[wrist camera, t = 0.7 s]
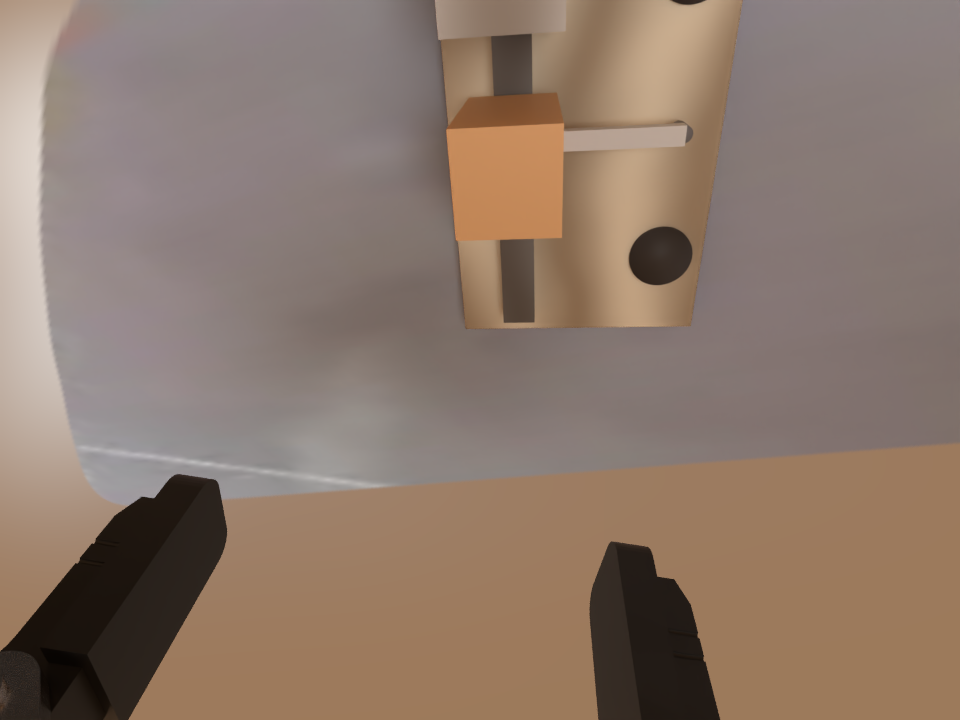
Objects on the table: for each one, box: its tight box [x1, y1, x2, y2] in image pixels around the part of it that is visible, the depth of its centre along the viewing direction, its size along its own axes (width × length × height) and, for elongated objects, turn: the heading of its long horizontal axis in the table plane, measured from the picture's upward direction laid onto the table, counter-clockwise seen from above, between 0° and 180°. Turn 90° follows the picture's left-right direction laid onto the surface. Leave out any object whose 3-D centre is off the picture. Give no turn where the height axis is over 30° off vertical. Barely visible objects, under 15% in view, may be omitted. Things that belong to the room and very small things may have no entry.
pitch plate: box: [435, 0, 743, 329], centre depth 22 cm, size 12×20×10 cm, turn 3°
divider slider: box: [446, 92, 693, 241], centre depth 21 cm, size 9×4×8 cm, turn 93°
